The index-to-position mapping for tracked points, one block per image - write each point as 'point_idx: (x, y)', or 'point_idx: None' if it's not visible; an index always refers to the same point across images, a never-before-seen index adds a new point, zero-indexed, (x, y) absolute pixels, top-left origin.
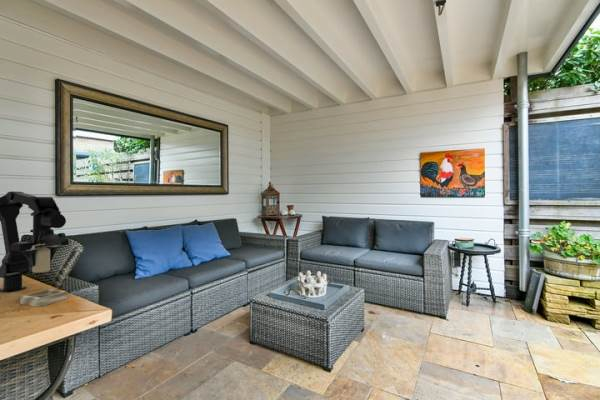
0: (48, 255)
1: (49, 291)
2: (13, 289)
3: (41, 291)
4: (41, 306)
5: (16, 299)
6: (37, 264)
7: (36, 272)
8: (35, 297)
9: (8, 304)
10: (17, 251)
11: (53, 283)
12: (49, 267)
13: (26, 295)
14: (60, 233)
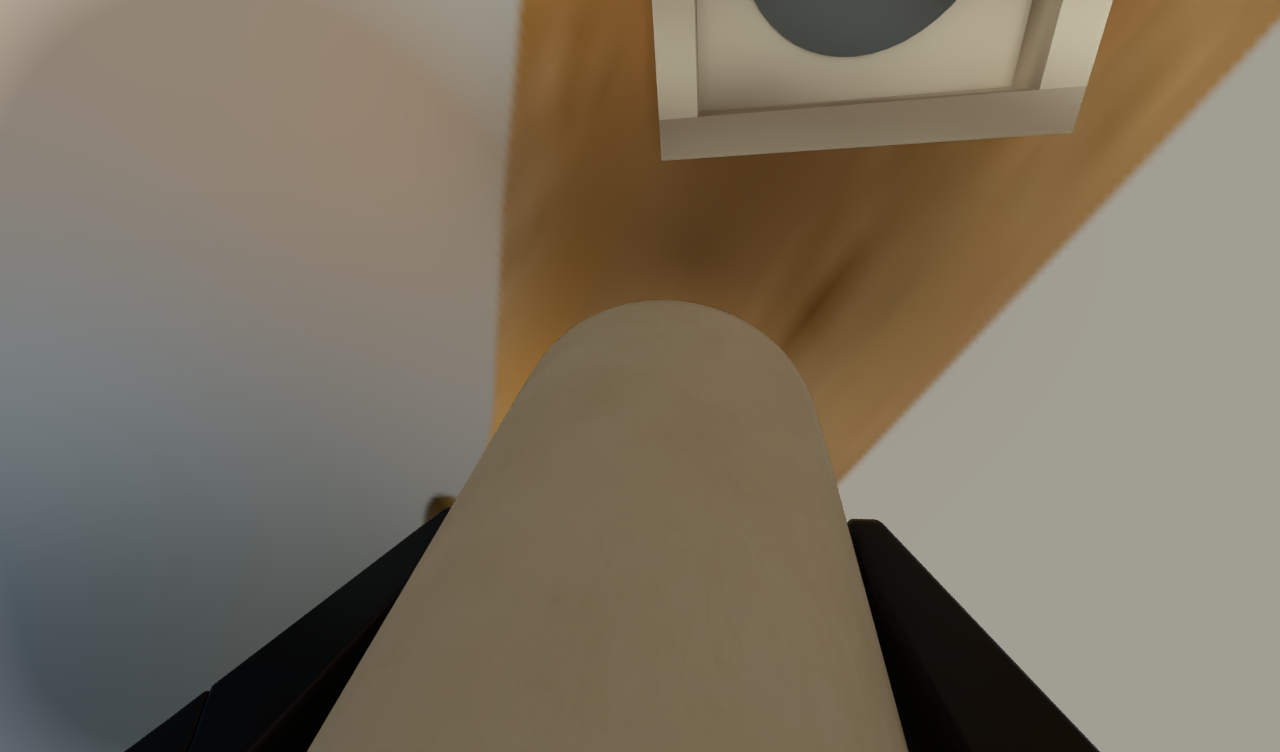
0: (428, 699)
1: (697, 80)
2: None
3: (794, 110)
4: None
5: (868, 342)
6: (836, 502)
7: (804, 382)
8: None
9: (1040, 238)
10: None
11: (426, 517)
12: (546, 362)
13: (1024, 88)
14: None
